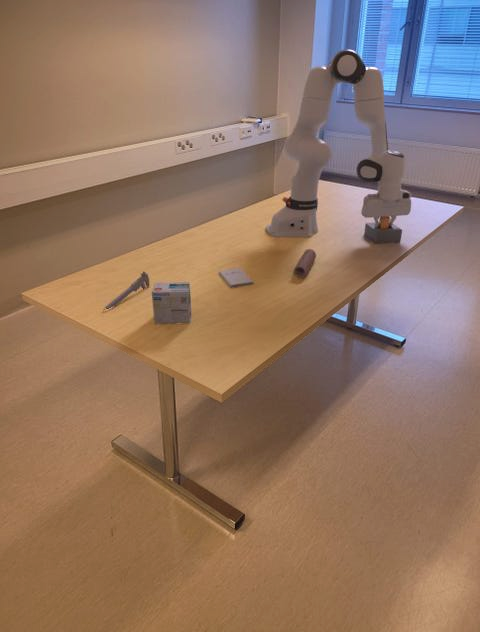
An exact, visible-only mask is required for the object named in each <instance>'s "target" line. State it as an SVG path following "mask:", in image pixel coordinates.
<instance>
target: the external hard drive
mask: <svg viewBox="0 0 480 632" xmlns="http://www.w3.org/2000/svg"><path fill="white" fill-rule="evenodd" d="M218 274H219V275H220V276H222V277H221V278H222V279H223V280H224V281H225V282H227V283H226V284H227V285H228V287H231V288H230V289H233V288H232V287H234V288H239V287H238V286H240V287H245V285H246V286H250V285H251V286H252V285H254V281H253V280H252V279H251V278H250V277H249V276H248V274H246V273H245V271H244V270H242V269H241V267H237V268H236V267H235V268H229V269H223V270H220V271H218Z"/></svg>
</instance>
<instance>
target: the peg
mask: <svg viewBox="0 0 480 632" xmlns="http://www.w3.org/2000/svg"><path fill="white" fill-rule="evenodd" d="M390 219H391V216H386V217H379V219H378V222H380V223H381V225H380V227H378V228H379V229H388V227H389V221H390Z"/></svg>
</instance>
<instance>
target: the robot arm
mask: <svg viewBox="0 0 480 632" xmlns="http://www.w3.org/2000/svg"><path fill="white" fill-rule="evenodd" d="M339 83H342V84H344V83H345V84H350V85H351V86H352V89H353V96H354V97H353V98H354V103H353V104H354V106H353V107H354V113H355V116H356V120H357V121H358V122H359V123H361V124H362V125H363V126H364V127H366V128H367V129H368V131H369V134H370V142H371V143H370V144H371V154H370V156H368V157H365V158H363V159H361V161H359V162H358V164H357V166H356V176H357V177H358V179H359V181H361V182H364V183H378V184H377V192H376V193H373V194H372V193H369V194H367V195H365V196H364V197H363V203H362V209H361V211H360V212H361V213H360V214H361V215H362V216H363V217H364V218H365V219H368V218H369V219H370V218H373V220H374V222H376V223H375V226H376V227H380V225H381V223H380V222H379V220H380V217H386V216H389V217H390V221H389V226H392V224H394V222H395V220H396V219H397V217H399V216H402V217H403V216H408V215H409V214H410V213H411V211H412V210H411V209H412V200H411V198H412V196H413V195H412V193H411V192H409V191H408V190H406V189H404V188H402V179H403V177H404V172H405V166H406V165H405V161H406V160H405V155H404V154H403V153H402V152H400V151H398V150H395V149H389V145H388V143H389V142H388V134H387V133H388V132H387V124H386V115H385V90H384V89H385V88H384V79H383V76H382V72H381V70H380V69H379V68H377V67H375V66H366V64H365V63H364V61H363V60H362V58H361V56H360V55H359V53H357V52H356V51H355V50H354V49H342V50H339V51H338V52H336V53H335V55H334V56H333V58H332V59H331V61H330V62H329V63H328V65H326V66H324V65H318V66H315V67H313V68H311V69H310V71H309V73H308V75H307V78H306V82H305V85H304V88H303V89H304V90H303V93H302V97H301V99H302V100H301V103H300V109H299V114H298V118H297V121H296V123H295V126H294V128H293V129H292V132H291V134H289V135H288V136H287V137H286V139H285V140H284V142H283V143H284V144H283V149H284V152H285V154H286V155H287V156H288V158H290V159H291V160H293V161H295V162H296V163H297V162H298V167H297V170H296V173H295V174H294V175H293V176H292V177H291V182H290V184H291V185H290V196H289V197H286V196H284V197H282V199H281V200H282V201H283V202H284V203H285V206H283V208H281V209H280V210H278V211H276V212H275V213H274V214H273V216H272V218H271V223H270V224H266V226H265V230H266V231H265V232H266V233H268V234H269V235H270V236H271V237H274V238H310V237H312V236H313V235H315V234H317V233H318V232H319V228H318V222H317V221H318V220H317V211H318V204H319V203H318V202H319V201H318V200H319V199H318V189H319V182H320V177H321V174H322V171H323V169H324V168H325V166H327V165H328V164H329V162H330V160H331V159H332V152H333V151H332V148H331V146H330V145H329V144H328V143H327V142H325V141H324V140H323V139H321V138H318V137H317V136H318V134H319V132H320V130H321V128H322V127H323V126H324V125H325V124H326V123H327V122H328V117H329V112H330V107H331V104H332V103H331V102H332V98H333V97H332V96H333V94H334V93H333V92H334V89H335V87H336V85H337V84H339Z"/></svg>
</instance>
